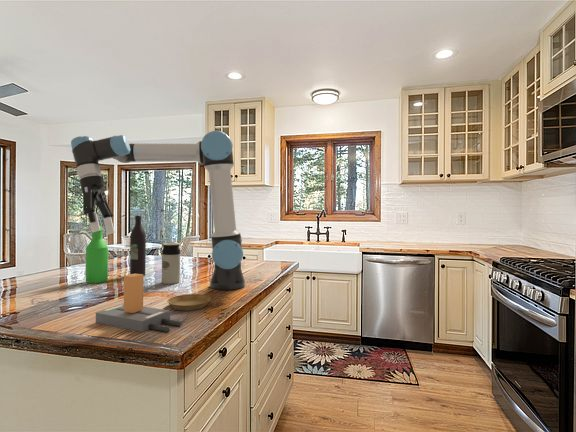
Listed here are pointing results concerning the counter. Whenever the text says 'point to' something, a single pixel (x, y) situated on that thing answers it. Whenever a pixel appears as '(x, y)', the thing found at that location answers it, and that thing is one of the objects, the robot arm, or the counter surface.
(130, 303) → the breaker handle
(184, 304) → the plant saucer
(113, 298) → the counter surface
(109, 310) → the switch box
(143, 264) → the wine bottle
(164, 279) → the travel mug
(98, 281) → the bottle
